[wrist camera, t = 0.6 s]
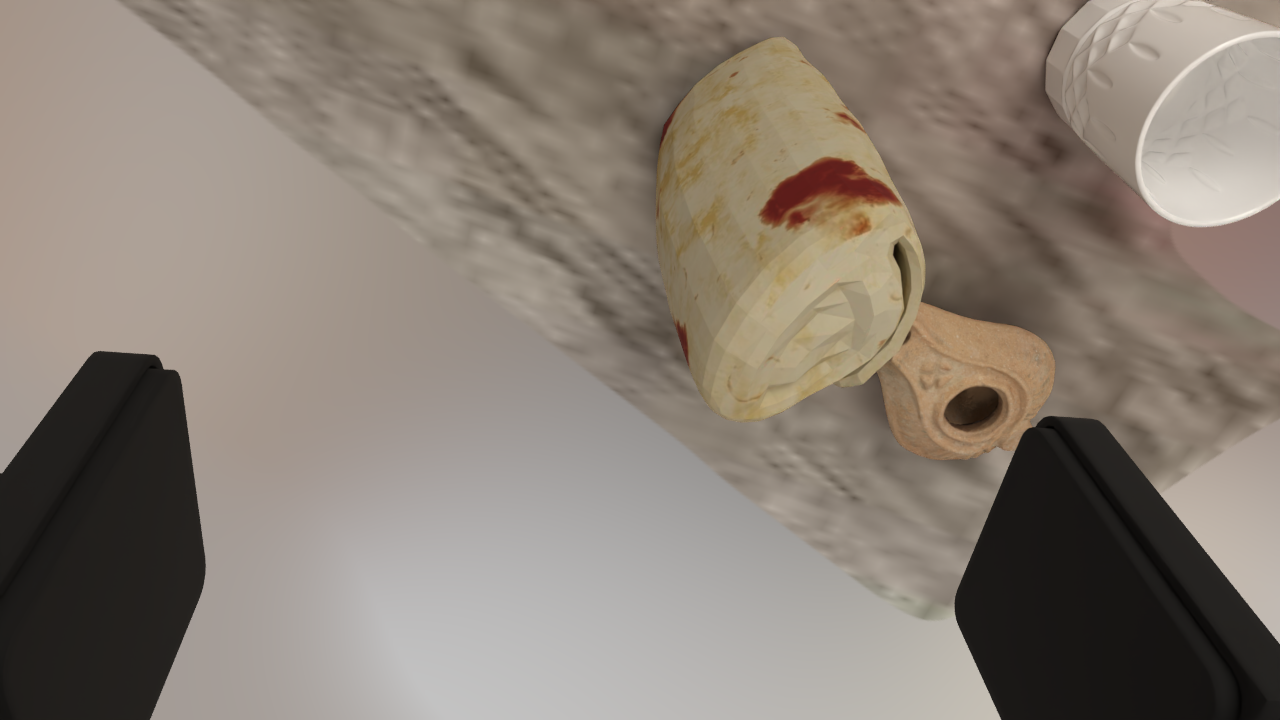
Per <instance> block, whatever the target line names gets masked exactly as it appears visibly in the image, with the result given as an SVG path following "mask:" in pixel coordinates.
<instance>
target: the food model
mask: <svg viewBox="0 0 1280 720" xmlns="http://www.w3.org/2000/svg"><path fill="white" fill-rule="evenodd" d="M656 236H657V250H658V258H659V264H660V268H661V273H662V278H663V282H664V286H665V290H666V294H667V299H668V304H669V309H670V312H671V315H672V318H673V321H674V324H675V327H676V330H677V333H678V336H679V339H680V342H681V345H682V348H683V351H684V354H685V357H686V360H687V363H688V366H689V368H690V371H691V374H692V376H693V379H694V381H695V383H696V386H697V388H698V390H699V392H700V394H701V395H702V397H703V399H704V400H705V402H706V403H707V404H708V406H709V407H710V409H711V410H712V411H713V412H715V413H716V414H718V415H720V416H721V417H723V418H725V419H727V420H732V421H737V422H755V421H761V420H764V419H766V418H769V417H771V416H774V415H776V414H779V413H781V412H783V411H785V410H786V409H788V408H790V407H791V406H793V405H795V404H796V403H798V402H799V401H801V400H803V399H804V398H806V397H808V396H809V395H811V394H813V393H815V392H817V391H819V390H821V389H823V388H825V387H827V386H829V385H831V384H835V385H837V386H839V387H842V388H843V387H850V386H857V385H863V384H864V383H865V382H866V381H867V380H868V379H869V378H870V377H871V376H872V375H873V374H875V373H876V372H877V371H878V370H879V369H880V368H881V367H882V366H883V365H884V364H885V363H886V362H887V361H889V360H890V359H891V358H892V357H893V356H894V355H895V354H896V353H897V352H898V351H899V350H900V348H901V346H902V344H903V342H904V340H905V338H906V336H907V334H908V332H909V330H910V328H911V327H912V325H913V323H914V321H915V319H916V316H917V313H918V309H919V305H920V301H921V297H922V294H923V290H924V286H925V260H924V255H923V250H922V246H921V243H920V240H919V238H918V235H917V232H916V230H915V227H914V224H913V221H912V219H911V216H910V214H909V211H908V209H907V207H906V206H905V204H904V202H903V200H902V199H901V197H900V195H899V193H898V191H897V190H896V188H895V186H894V184H893V182H892V180H891V178H890V176H889V174H888V172H887V170H886V168H885V166H884V164H883V161H882V159H881V157H880V155H879V154H878V152H877V150H876V149H875V147H874V145H873V144H872V142H871V140H870V139H869V137H868V135H867V134H866V132H865V130H864V129H863V127H862V125H861V124H860V122H859V121H858V120H857V119H856V118H855V117H854V116H853V114H852V113H851V112H850V111H849V110H848V109H847V107H846V106H845V105H844V104H843V102H842V101H841V100H840V98H839V97H838V95H837V94H836V92H835V91H834V89H833V88H832V86H831V85H830V83H829V82H828V81H827V80H826V78H825V77H824V76H823V74H821V73H820V72H819V71H818V70H817V69H816V68H815V67H813V66H812V65H811V64H810V63H809V62H808V61H807V60H806V59H805V58H804V57H803V55H802V54H801V52H800V50H799V49H798V47H797V46H796V45H795V44H793V43H792V42H790V41H789V40H787V39H786V38H784V37H776V38H769V39H767V40H764V41H762V42H760V43H758V44H756V45H754V46H752V47H750V48H748V49H746V50H744V51H742V52H740V53H738V54H736V55H735V56H733V57H731V58H730V59H728V60H726V61H725V62H723V63H721V64H720V65H718V66H717V67H716V68H715V69H713V70H712V71H711V72H710V73H709V74H707V75H706V76H705V77H704V78H703V79H701V80H700V81H699V82H698V83H697V84H696V85H695V86H694V87H693V88H692V89H691V90H690V92H689V93H688V94H687V95H686V96H685V97H684V98H683V100H682V101H681V102H680V103H679V104H678V106H677V107H676V109H675V110H674V111H673V113H672V114H671V116H670V117H669V119H668V120H667V122H666V123H665V124H664V128H663V133H662V137H661V142H660V151H659V157H658V166H657V184H656Z"/></svg>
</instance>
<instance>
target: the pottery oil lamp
mask: <svg viewBox="0 0 1280 720" xmlns="http://www.w3.org/2000/svg"><path fill="white" fill-rule="evenodd" d="M877 374H878V376H879V379H880V383H881V387H882V393H883V398H884V403H885V408H886V414H887V418H888V421H889V425H890V428H891V431H892V433H893V435H894V437H895V439H896V440H897V442H898V443H899V444H900V445H901V446H903V447H904V448H905V449H907V450H909V451H911V452H913V453H915V454H917V455H920V456H923V457H926V458H929V459H935V460H949V459H963V460H966V459H969V458H971V457H972V458H976V457H978V456H979V455H980V454H983V453H985V452H986V453H989V452H990V451H991V450H992V449H994V448H995V447H996V446H997V447H1000V448H1001V449H1003V450H1007V451H1011V450H1013V451H1015V450H1016V448H1017V446H1018V443H1019V441H1020V438H1021V437H1022V435H1023V433H1024V432H1025V431H1026V430H1027V429H1028V428H1032V425H1031V423H1030V420H1031V418H1034V417H1035V416H1036V414H1037V411H1038V410H1039V409H1040V408H1041V407H1042V405H1043V404H1044V403H1045V401H1046V400H1047V398H1048V396H1049V395H1050V392H1051V390H1052V387H1053V382H1054V375H1055V361H1054V358H1053V354H1052V352H1051V350H1050V349H1049V347H1048V345H1047V344H1046V343H1045V342H1044V341H1043V340H1042V339H1041V338H1039V337H1038V336H1036V335H1035V334H1033V333H1031V332H1029V331H1028V330H1026V329H1023V328H1020V327H1017V326H1013V325H1008V324H1000V323H992V322H988V321H980V320H975V319H971V318H968V317H963V316H960V315H957V314H954V313H951V312H948V311H944V310H942V309H940V308H937V307H935V306H932V305H929V304H925V303H923V302H920V305H919V309H918V313H917V316H916V319H915V321H914V323H913V325H912V327H911V328H910V330H909V332H908V334H907V336H906V338H905V340H904V342H903V344H902V346H901V348H900V350H899V351H898V352H897V353H896V354H895V355H894V356H893V357H892V358H891V359H890V360H889V361H887V362H886V363H885V364H884V365H883V366H882V367H881V368H880V369H879V370H878V371H877Z"/></svg>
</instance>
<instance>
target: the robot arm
mask: <svg viewBox="0 0 1280 720" xmlns="http://www.w3.org/2000/svg"><path fill="white" fill-rule="evenodd" d="M205 567H206V564H205V553H204V547H203V539H202V531H201V524H200V516H199V509H198V503H197V494H196V487H195V479H194V473H193V465H192V458H191V450H190V443H189V435H188V428H187V420H186V414H185V406H184V398H183V392H182V384H181V379H180V376H179V374H178V372H177V371H175V370H164V369H163V366H162V363H161V361H160V359H159V358H158V357H157V356H155V355H148V354H133V353H119V352H104V351H98V352H94V353H93V354H92V355H91V356H90V357H89V358H88V359H87V361H86V362H85V363H84V364H83V366H82V367H81V369H80V370H79V371H78V373H77V374H76V375H75V377H74V378H73V379H72V381H71V382H70V383H69V385H68V386H67V387H66V389H65V390H64V391H63V393H62V394H61V395H60V397H59V398H58V399H57V401H56V402H55V404H54V405H53V406H52V407H51V409H50V410H49V411H48V413H47V414H46V416H45V417H44V418H43V420H42V421H41V422H40V424H39V425H38V426H37V428H36V429H35V430H34V432H33V433H32V434H31V436H30V437H29V438H28V440H27V441H26V442H25V444H24V445H23V446H22V448H21V449H20V450H19V452H18V453H17V455H16V456H15V457H14V459H13V460H12V461H11V462H10V464H9V465H8V467H7V468H6V469H5V471H4V472H3V473H2V474H1V473H0V720H150V718H151V716H152V713H153V711H154V708H155V706H156V703H157V701H158V698H159V696H160V693H161V691H162V689H163V686H164V684H165V681H166V679H167V676H168V674H169V672H170V669H171V667H172V664H173V662H174V659H175V657H176V654H177V652H178V650H179V647H180V645H181V642H182V640H183V637H184V635H185V632H186V630H187V628H188V625H189V622H190V620H191V618H192V615H193V613H194V610H195V608H196V605H197V603H198V601H199V598H200V595H201V592H202V589H203V585H204V579H205ZM955 615H956V620H957V623H958V625H959V628H960V630H961V632H962V634H963V637H964V639H965V641H966V643H967V645H968V648H969V650H970V652H971V654H972V656H973V659H974V661H975V663H976V665H977V667H978V670H979V672H980V674H981V676H982V678H983V680H984V683H985V685H986V687H987V689H988V691H989V693H990V696H991V698H992V700H993V702H994V705H995V707H996V709H997V711H998V713H999V715H1000V717H1001V720H1280V644H1279V643H1278V641H1277V640H1276V639H1275V638H1274V637H1273V635H1272V634H1271V633H1270V631H1269V630H1268V629H1267V628H1266V626H1265V625H1264V624H1263V623H1262V621H1260V619H1259V618H1258V617H1257V615H1256V614H1255V613H1254V612H1253V610H1252V609H1251V608H1250V607H1249V605H1248V604H1247V603H1246V602H1245V600H1244V599H1243V598H1242V597H1241V595H1240V594H1239V593H1238V592H1237V590H1236V589H1235V588H1234V587H1233V585H1232V584H1231V583H1230V582H1229V580H1228V579H1227V578H1226V577H1225V575H1224V574H1223V573H1222V572H1221V570H1220V569H1219V568H1218V567H1217V565H1216V564H1215V563H1214V562H1213V560H1212V559H1211V558H1210V557H1209V555H1208V554H1207V553H1206V552H1205V550H1204V549H1203V548H1202V547H1201V545H1200V544H1199V543H1198V542H1197V540H1196V539H1195V538H1194V537H1193V535H1192V534H1191V533H1190V532H1189V530H1188V529H1187V528H1186V527H1185V525H1184V524H1183V523H1182V522H1181V520H1180V519H1179V518H1178V517H1177V515H1176V514H1175V513H1174V512H1173V510H1172V509H1171V508H1170V507H1169V505H1168V504H1167V503H1166V502H1165V500H1164V499H1163V498H1162V497H1161V495H1160V494H1159V493H1158V492H1157V490H1156V489H1155V488H1154V487H1153V485H1152V484H1151V483H1150V482H1149V480H1148V479H1147V478H1146V477H1145V475H1144V474H1143V473H1142V472H1141V470H1140V469H1139V468H1138V467H1137V465H1136V464H1135V463H1134V462H1133V460H1132V459H1131V458H1130V457H1129V455H1128V454H1127V453H1126V452H1125V450H1124V449H1123V448H1122V447H1121V445H1120V444H1119V443H1118V442H1117V440H1116V439H1115V438H1114V437H1113V435H1112V434H1111V433H1110V432H1109V430H1108V429H1107V428H1106V427H1105V426H1104V425H1103V424H1102V423H1101V422H1100V421H1098V420H1094V419H1086V418H1071V417H1057V416H1048V417H1045V418H1043V419H1042V420H1041V421H1040V422H1039V423H1038V424H1037V426H1036V427H1032V428H1028V429H1027V430H1026V431H1025V432H1024V433H1023V435H1022V437H1021V438H1020V441H1019V443H1018V446H1017V448H1016V450H1015V453H1014V455H1013V458H1012V460H1011V462H1010V465H1009V467H1008V470H1007V472H1006V474H1005V477H1004V479H1003V482H1002V484H1001V486H1000V489H999V491H998V494H997V496H996V498H995V501H994V503H993V506H992V508H991V510H990V513H989V515H988V518H987V520H986V522H985V525H984V527H983V530H982V532H981V534H980V537H979V539H978V542H977V544H976V546H975V549H974V551H973V554H972V556H971V558H970V561H969V563H968V566H967V568H966V570H965V573H964V575H963V578H962V580H961V582H960V585H959V587H958V590H957V593H956V596H955Z"/></svg>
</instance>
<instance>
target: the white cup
mask: <svg viewBox="0 0 1280 720" xmlns="http://www.w3.org/2000/svg"><path fill="white" fill-rule="evenodd" d="M1045 91H1046V93H1047V95H1048V97H1049V99H1050V101H1051V103H1052V105H1053V107H1054V108H1055V110H1056V112H1057V114H1058V116H1059V117H1060V118H1061V119H1062V120H1063V121H1065V122H1066V123H1067V124H1068V125H1069V126H1070V127H1071V128H1072V129H1073V130H1074V131H1075V133H1076V134H1077V135H1078V136H1079V138H1080V139H1081V140H1082V141H1083V142H1084V143H1085V144H1086V145H1087V146H1088V147H1089V148H1090V149H1091V150H1092V151H1093V152H1094V153H1095V154H1096V155H1097V157H1098V158H1099V159H1100V160H1101V161H1102V162H1103V163H1104V164H1105V165H1106V166H1108V167H1109V168H1110V169H1111V170H1112V171H1113V172H1114V173H1115V174H1116V175H1117V176H1118V177H1119V178H1120V179H1121V180H1122V181H1123V182H1125V183H1126V184H1127V185H1128V186H1129V187H1130V188H1131V189H1132V190H1133V191H1134V192H1135V193H1136V194H1137V195H1138V196H1139V197H1140V198H1141V199H1142V200H1143V201H1144V202H1146V203H1147V204H1148V205H1149V206H1150V207H1151V208H1152V209H1153V210H1154V211H1155V212H1156V213H1157V214H1159V215H1160V216H1162V217H1163V218H1165V219H1167V220H1169V221H1171V222H1174V223H1177V224H1180V225H1185V226H1190V227H1214V226H1220V225H1225V224H1229V223H1233V222H1236V221H1239V220H1242V219H1245V218H1247V217H1249V216H1252V215H1254V214H1256V213H1258V212H1260V211H1262V210H1264V209H1265V208H1267V207H1269V206H1270V205H1272V204H1273V203H1275V202H1276V201H1278V200H1279V199H1280V27H1277V26H1274V25H1271V24H1268V23H1266V22H1263V21H1260V20H1257V19H1254V18H1251V17H1249V16H1246V15H1243V14H1240V13H1237V12H1234V11H1232V10H1229V9H1226V8H1223V7H1219V6H1215V5H1211V4H1208V3H1206V2H1203V1H1200V0H1090V1H1088V2H1087V3H1086V4H1085V5H1084V6H1083V7H1082V8H1081V9H1080V10H1079V11H1078V12H1077V13H1076V14H1075V15H1074V16H1073V17H1072V18H1071V19H1070V20H1069V21H1068V22H1067V23H1066V24H1065V25H1064V26H1063V27H1062V28H1061V29H1060V32H1059V34H1058V36H1057V38H1056V40H1055V42H1054V44H1053V46H1052V49H1051V51H1050V53H1049V55H1048V57H1047V59H1046V84H1045Z"/></svg>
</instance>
